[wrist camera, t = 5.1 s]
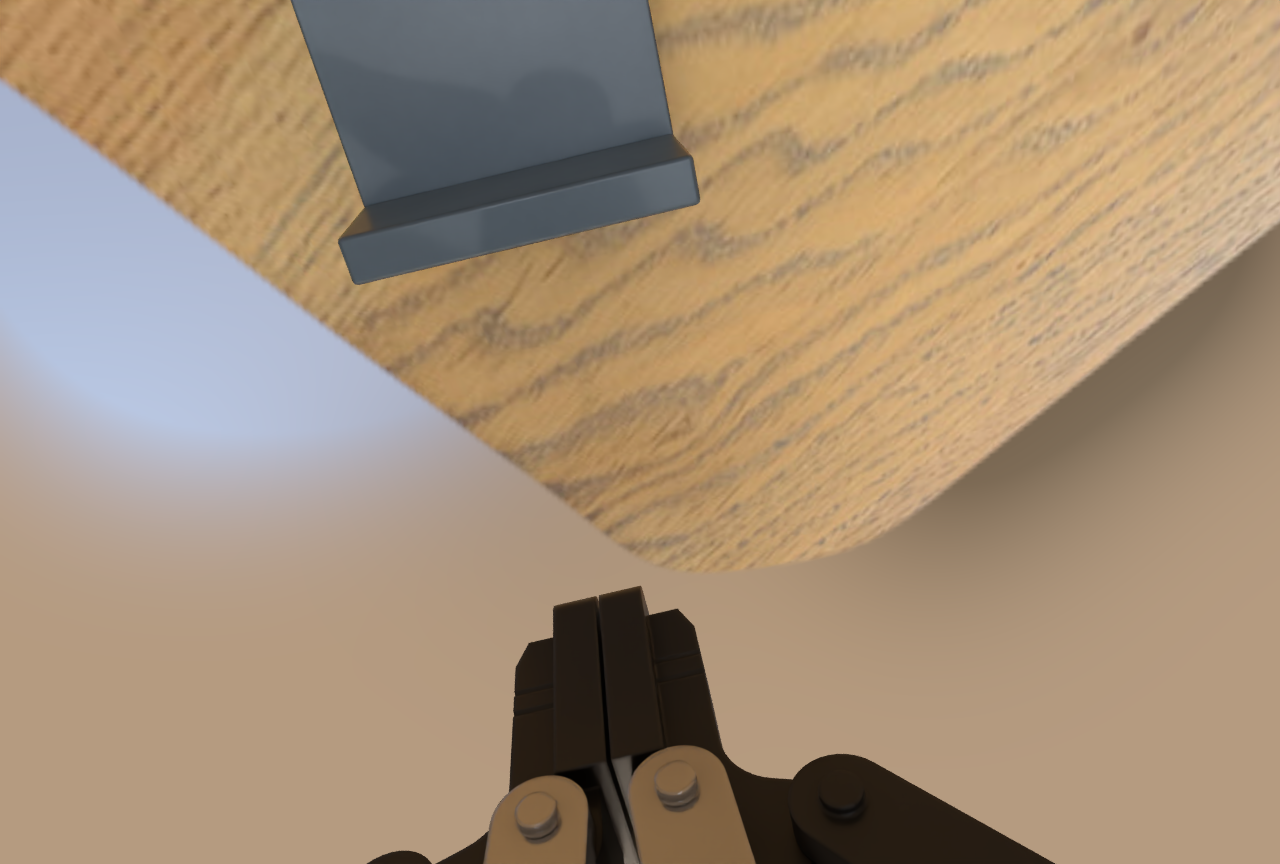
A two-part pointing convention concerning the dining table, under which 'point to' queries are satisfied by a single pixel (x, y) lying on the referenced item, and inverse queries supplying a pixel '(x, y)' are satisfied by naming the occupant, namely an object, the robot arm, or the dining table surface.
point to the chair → (493, 123)
